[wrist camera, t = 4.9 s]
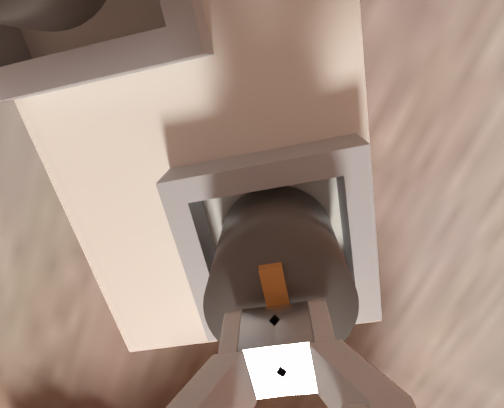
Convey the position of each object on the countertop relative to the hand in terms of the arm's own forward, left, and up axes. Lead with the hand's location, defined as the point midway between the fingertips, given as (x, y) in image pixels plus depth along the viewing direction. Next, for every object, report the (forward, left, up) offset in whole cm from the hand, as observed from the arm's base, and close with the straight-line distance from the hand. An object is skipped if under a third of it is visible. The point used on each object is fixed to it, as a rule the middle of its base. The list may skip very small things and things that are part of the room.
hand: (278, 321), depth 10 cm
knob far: (0, 0, -6) cm, 6 cm away
